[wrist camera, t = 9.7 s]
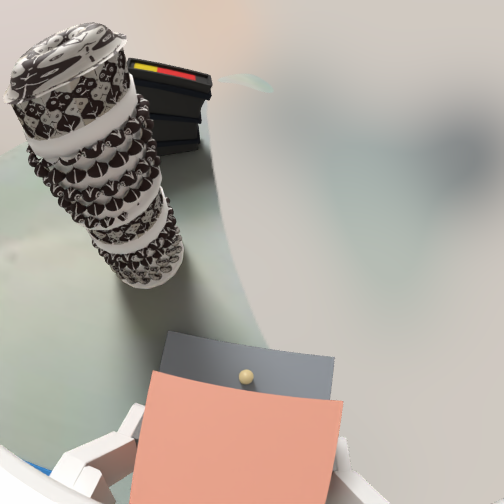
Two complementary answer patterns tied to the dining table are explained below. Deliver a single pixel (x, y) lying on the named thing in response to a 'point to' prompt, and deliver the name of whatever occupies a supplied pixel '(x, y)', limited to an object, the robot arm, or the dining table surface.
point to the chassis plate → (247, 367)
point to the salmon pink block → (232, 446)
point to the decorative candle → (98, 149)
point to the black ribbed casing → (172, 103)
